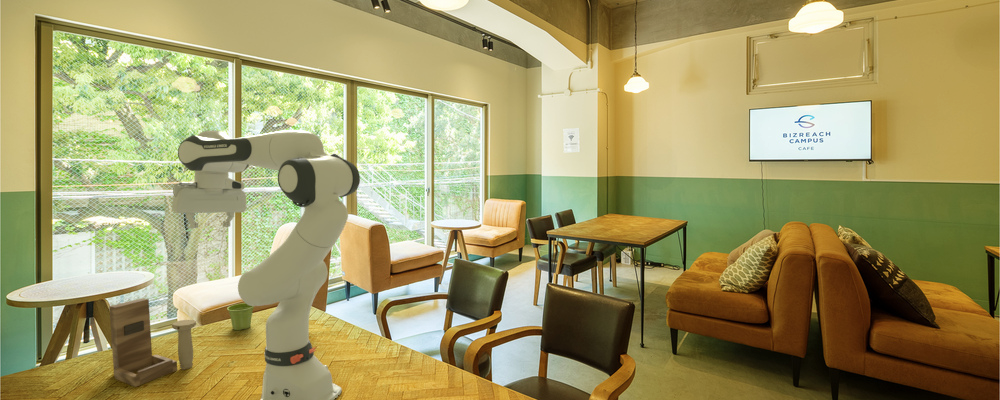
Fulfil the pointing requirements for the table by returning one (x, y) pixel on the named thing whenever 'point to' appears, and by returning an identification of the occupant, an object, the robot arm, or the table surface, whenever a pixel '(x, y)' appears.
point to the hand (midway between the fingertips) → (210, 227)
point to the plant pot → (240, 315)
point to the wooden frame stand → (135, 344)
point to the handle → (185, 342)
